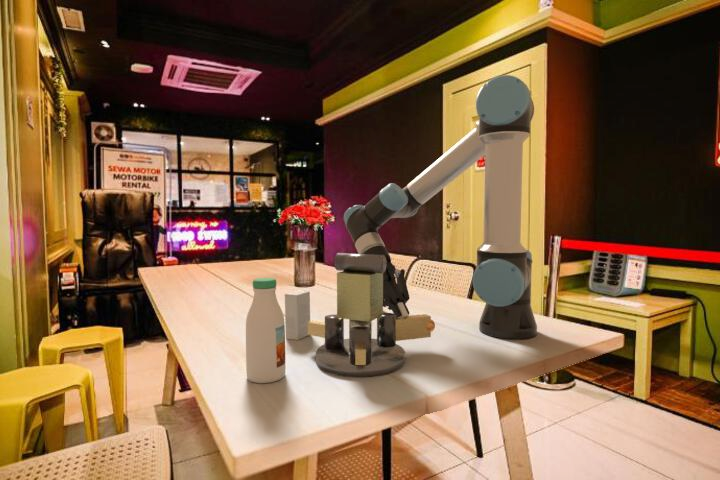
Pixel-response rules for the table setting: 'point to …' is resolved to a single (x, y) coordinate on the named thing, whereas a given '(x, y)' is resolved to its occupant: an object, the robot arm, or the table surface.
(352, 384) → the table surface
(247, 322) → the milk bottle
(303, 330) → the skincare box
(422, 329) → the knob lever
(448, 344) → the table surface
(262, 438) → the table surface
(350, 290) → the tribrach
